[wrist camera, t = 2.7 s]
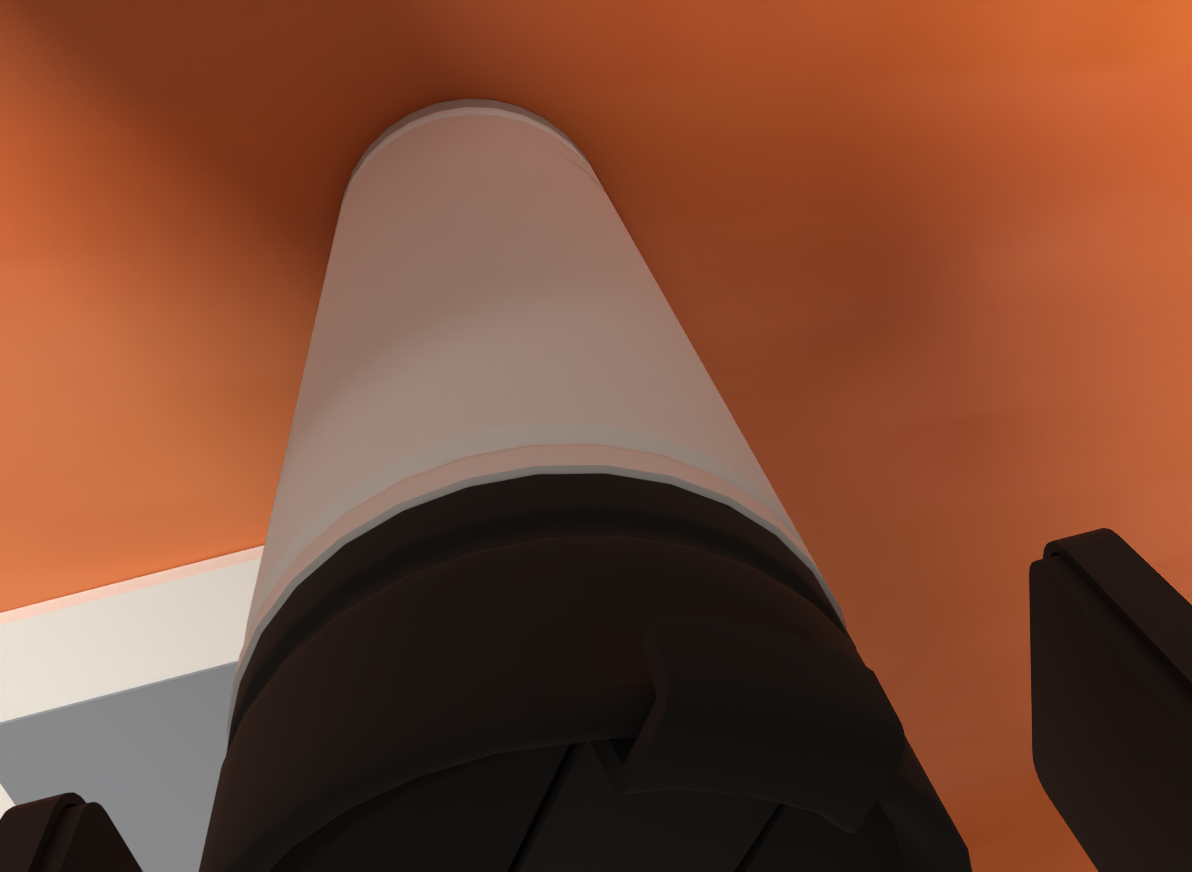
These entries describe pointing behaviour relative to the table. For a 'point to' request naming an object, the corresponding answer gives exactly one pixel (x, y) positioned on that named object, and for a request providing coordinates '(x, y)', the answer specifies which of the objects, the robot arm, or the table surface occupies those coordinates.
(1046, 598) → the robot arm
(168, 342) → the table surface
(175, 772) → the card
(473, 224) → the travel mug
